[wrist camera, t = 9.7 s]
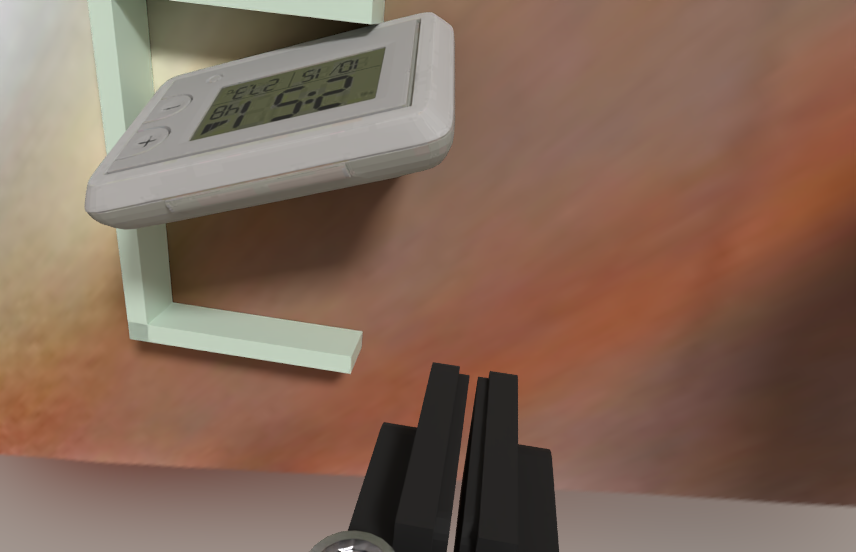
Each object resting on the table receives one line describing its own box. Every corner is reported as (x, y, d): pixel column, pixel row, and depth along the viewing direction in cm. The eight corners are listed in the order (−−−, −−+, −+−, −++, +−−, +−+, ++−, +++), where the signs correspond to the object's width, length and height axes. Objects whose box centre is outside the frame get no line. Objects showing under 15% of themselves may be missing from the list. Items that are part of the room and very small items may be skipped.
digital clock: (467, 11, 29) (449, 11, 19) (467, 188, 33) (452, 263, 23) (159, 20, 31) (3, 25, 21) (192, 187, 35) (71, 255, 25)
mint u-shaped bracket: (385, -4, 29) (373, -5, 26) (361, 347, 38) (350, 373, 35) (120, -34, 30) (82, -39, 27) (156, 315, 38) (130, 339, 36)
